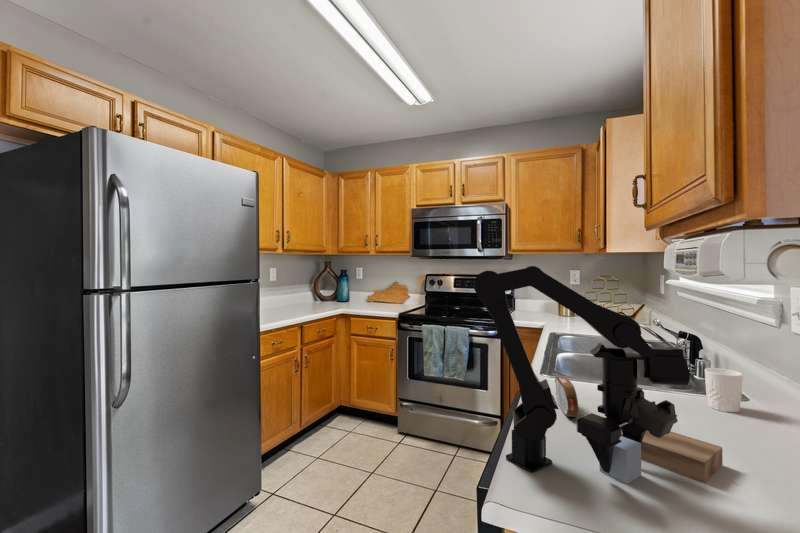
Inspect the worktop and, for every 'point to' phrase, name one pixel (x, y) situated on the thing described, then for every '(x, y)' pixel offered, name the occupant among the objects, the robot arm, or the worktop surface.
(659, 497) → the worktop surface
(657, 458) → the walnut block
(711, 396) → the white cup
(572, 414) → the tin
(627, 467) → the gray block
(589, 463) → the worktop surface
